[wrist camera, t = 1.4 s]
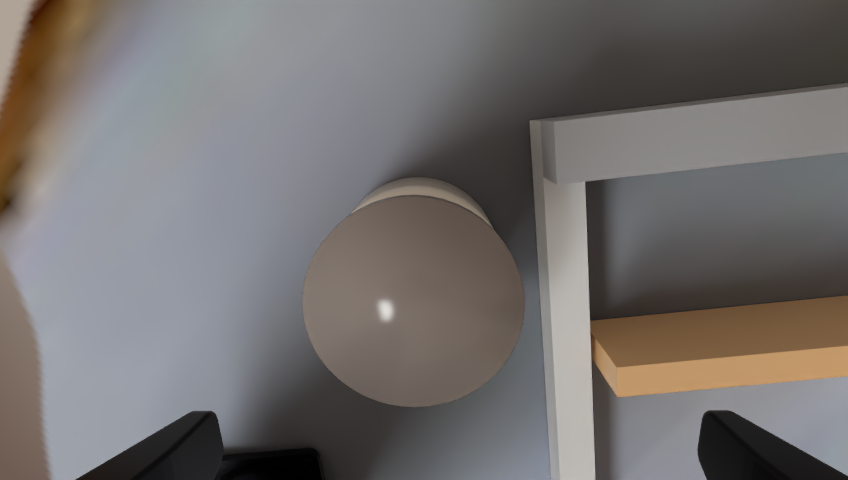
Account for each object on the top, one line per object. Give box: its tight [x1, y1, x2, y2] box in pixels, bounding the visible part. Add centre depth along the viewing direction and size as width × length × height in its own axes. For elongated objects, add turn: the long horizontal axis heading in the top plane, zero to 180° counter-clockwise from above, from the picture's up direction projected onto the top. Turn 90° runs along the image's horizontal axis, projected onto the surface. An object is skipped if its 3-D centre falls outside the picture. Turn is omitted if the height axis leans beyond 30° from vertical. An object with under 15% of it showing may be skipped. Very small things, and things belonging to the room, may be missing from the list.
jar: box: [302, 177, 524, 407], centre depth 18 cm, size 7×7×6 cm
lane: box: [529, 83, 848, 480], centre depth 20 cm, size 16×22×4 cm
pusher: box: [590, 295, 848, 397], centre depth 19 cm, size 12×1×4 cm, turn 97°
